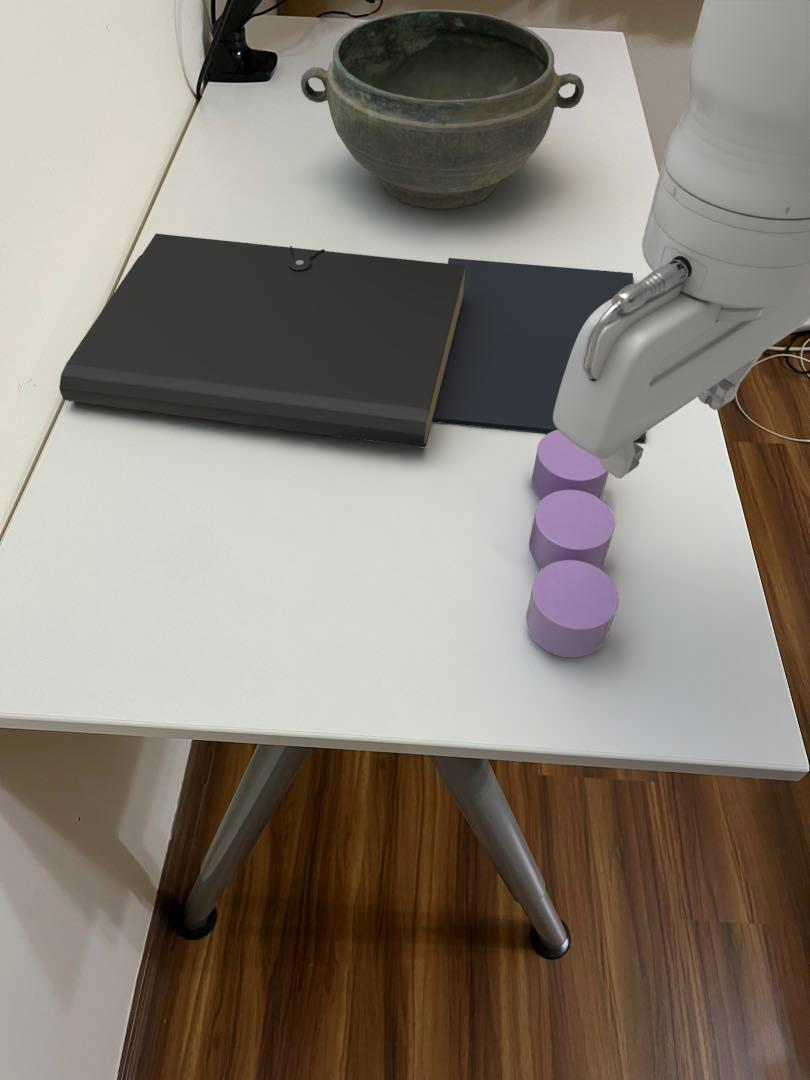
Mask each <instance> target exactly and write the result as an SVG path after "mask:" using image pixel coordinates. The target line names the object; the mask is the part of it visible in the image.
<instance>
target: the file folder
mask: <svg viewBox="0 0 810 1080" xmlns="http://www.w3.org/2000/svg"><path fill="white" fill-rule="evenodd" d="M465 267H466V266H465V265H456V264H448V263H445V262H435V261H425V260H416V259H408V258H407V259H405V258H398V257H397V258H396V257H388V256H387V257H386V256H378V255H370V254H369V255H368V254H358V253H349V252H348V253H347V252H338V251H330V250H329V251H328V250H326V249H325V248H323V249H309V248H301V247H300V248H299V247H293V246H292V245H290V246H280V245H271V244H262V243H261V244H260V243H251V242H242V241H233V240H224V239H223V240H222V239H213V238H212V239H211V238H204V237H193V236H184V235H176V234H164V233H154V235H153V237H152V238H151V240H150V242H149V243H148V244H147V246H146V247H145V249H144V251H143V252H142V254H140V255H139V256H138V257H137V259H136V260H135V262H133V264H132V265H131V267H130V269H129V270H128V272H127V273H126V274H125V276H124V278H123V279H122V281H121V282H120V284H119V285H118V287H117V288H116V289H115V291H114V292H113V294H112V295H111V297H110V298H109V300H108V302H107V303H106V304H105V306H104V307H103V309H102V310H101V312H100V313H99V315H98V316H97V318H96V319H95V320H94V322H93V324H92V325H91V326H90V328H89V329H88V331H87V332H86V334H85V335H84V337H83V338H82V339H81V341H80V343H79V344H78V346H77V347H76V348H75V350H74V351H73V353H72V354H71V356H70V357H69V359H68V360H67V362H66V363H65V364H64V368H63V370H62V371H61V373H60V374H61V375H60V379H59V392H60V395H61V398H62V400H64V401H67V402H71V403H77V404H79V403H80V404H88V405H94V406H102V407H110V408H117V409H118V408H119V409H125V410H132V411H139V412H147V413H155V414H162V415H170V416H178V417H185V418H192V419H193V418H194V419H199V420H200V419H202V420H209V421H215V422H216V421H217V422H223V423H231V424H240V425H246V426H247V425H248V426H253V427H262V428H270V429H278V430H284V431H292V432H298V433H299V432H300V433H309V434H315V435H322V436H323V435H324V436H331V437H338V438H347V439H352V440H353V439H355V440H361V441H369V442H376V443H384V444H392V445H398V446H408V447H413V448H421V449H426V447H427V444H428V441H429V437H430V433H431V429H432V425H433V423H434V422H433V418H434V414H435V410H436V406H437V402H438V398H439V394H440V390H441V386H442V382H443V378H444V374H445V370H446V366H447V362H448V358H449V354H450V350H451V346H452V342H453V338H454V334H455V330H456V326H457V322H458V318H459V314H460V310H461V306H462V302H463V298H464V295H463V292H464V290H463V289H464V280H465V278H464V277H465V276H464V275H465Z"/></svg>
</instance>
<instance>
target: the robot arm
mask: <svg viewBox="0 0 810 1080" xmlns="http://www.w3.org/2000/svg"><path fill="white" fill-rule="evenodd" d="M696 25H697V26H696V29H695V33H694V37H693V41H692V44H691V48H690V53H689V57H688V68H687V70H688V72H687V73H688V92H687V100H686V104H685V107H684V111H683V114H682V116H681V118H680V120H679V122H678V124H677V126H676V128H675V129H674V131H673V132H672V134H671V136H670V138H669V139H668V143H667V145H666V147H665V151H664V154H663V159H662V164H661V167H660V170H659V174H658V178H657V182H656V186H655V189H654V193H653V197H652V201H651V206H650V210H649V214H648V217H647V220H646V225H645V229H644V233H643V237H642V241H641V242H642V243H641V251H642V255H643V258H644V260H645V262H646V264H647V265H648V267H649V268H650V269H651V271H652V272H650V273H649V274H647V276H645V277H644V278H642V279H641V280H640V281H638V282H633V284H630V285H628V286H626V287H624V288H623V289H621V290H620V291H619V292H618V293H617V294H616V295H615V296H614V297H613V298H612V299H611V300H609V301H607V302H606V303H604V304H603V305H601V306H600V307H599V308H598V309H596V310H595V311H594V312H593V313H592V314H591V316H590V317H589V318H588V319H587V321H586V322H585V324H584V325H583V327H582V329H581V331H580V332H579V335H578V337H577V339H576V341H575V344H574V346H573V349H572V352H571V355H570V358H569V361H568V363H567V366H566V370H565V373H564V376H563V379H562V382H561V386H560V389H559V393H558V396H557V400H556V404H555V407H554V412H553V422H554V424H555V426H556V427H557V429H558V430H559V431H560V432H561V433H562V434H563V435H564V436H565V437H567V438H568V439H569V440H570V441H572V442H573V443H574V444H575V445H577V446H578V447H580V448H581V449H583V450H585V451H586V452H588V453H589V454H591V455H593V456H594V457H596V458H599V459H600V463H601V465H602V467H603V468H604V469H605V470H607V471H608V472H609V474H610V475H612V476H613V477H614V478H616V479H623V478H624V477H625V476H627V475H628V474H630V473H631V472H632V471H633V470H635V469H636V468H637V467H639V465H640V460H641V458H642V456H643V453H644V450H645V448H644V447H642V446H640V445H639V444H638V443H637V442H633V441H635V440H637V439H638V438H639V437H640V436H641V435H642V434H644V433H645V432H646V433H647V432H649V431H650V430H651V429H653V428H654V427H655V426H657V425H659V424H660V423H662V422H664V421H665V419H667V418H669V417H670V416H672V415H673V414H674V413H676V412H678V411H679V410H681V409H682V408H683V407H685V406H686V405H688V404H689V403H691V402H692V401H694V400H695V399H698V400H699V401H700V402H701V403H703V404H705V405H708V406H709V408H710V409H712V410H713V411H718V410H719V409H721V408H723V407H724V406H725V405H727V404H729V403H731V402H732V401H733V400H734V399H735V396H736V395H737V392H738V390H739V388H740V385H741V383H742V381H744V379H745V378H746V376H747V375H748V374H749V373H750V371H751V370H752V369H753V367H754V366H755V365H756V363H757V362H758V361H759V359H760V358H761V357H762V356H763V353H764V352H766V351H767V350H768V349H770V348H771V347H772V346H775V345H776V344H777V343H779V342H780V341H782V340H783V339H785V338H786V337H787V336H789V335H791V334H792V333H793V332H795V331H796V330H799V328H801V327H803V326H804V325H805V323H807V322H808V321H809V319H810V0H703V3H702V7H701V11H700V15H699V18H698V21H697V24H696Z"/></svg>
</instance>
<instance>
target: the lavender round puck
mask: <svg viewBox="0 0 810 1080" xmlns="http://www.w3.org/2000/svg"><path fill="white" fill-rule="evenodd" d="M618 607H619V593H618V589H617V587H616V584H615V583H614V581H613V580H612V579H611V577H610V576H609V575H608V574H607V573H606V572H605V571H604V570H602V569H600V568H597V567H595V566H593V565H591V564H589V563H586V562H582V561H576V560H563V561H558V562H554V563H552V564H549V565H548V566H546V567H545V568H543V569H541V570H540V571H539V572H538V573H537V575H536V576H535V578H534V580H533V581H532V587H531V590H530V596H529V600H528V604H527V609H526V614H525V623H526V628H527V629H528V632H529V634H530V636H531V637H532V639H533V640H534V641H535V642H536V643H537V644H538V645H539V646H540V647H541V648H543V649H544V650H545V651H547V652H548V653H551V654H552V655H555V656H557V657H562V658H578V657H579V658H580V657H585V656H588V655H591V654H592V653H595V652H596V651H597V650H598V649H599V648H601V647H602V646H603V644H604V643H605V641H606V640H607V637H608V635H609V632H610V629H611V627H612V624H613V621H614V618H615V615H616V612H617V610H618Z"/></svg>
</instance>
